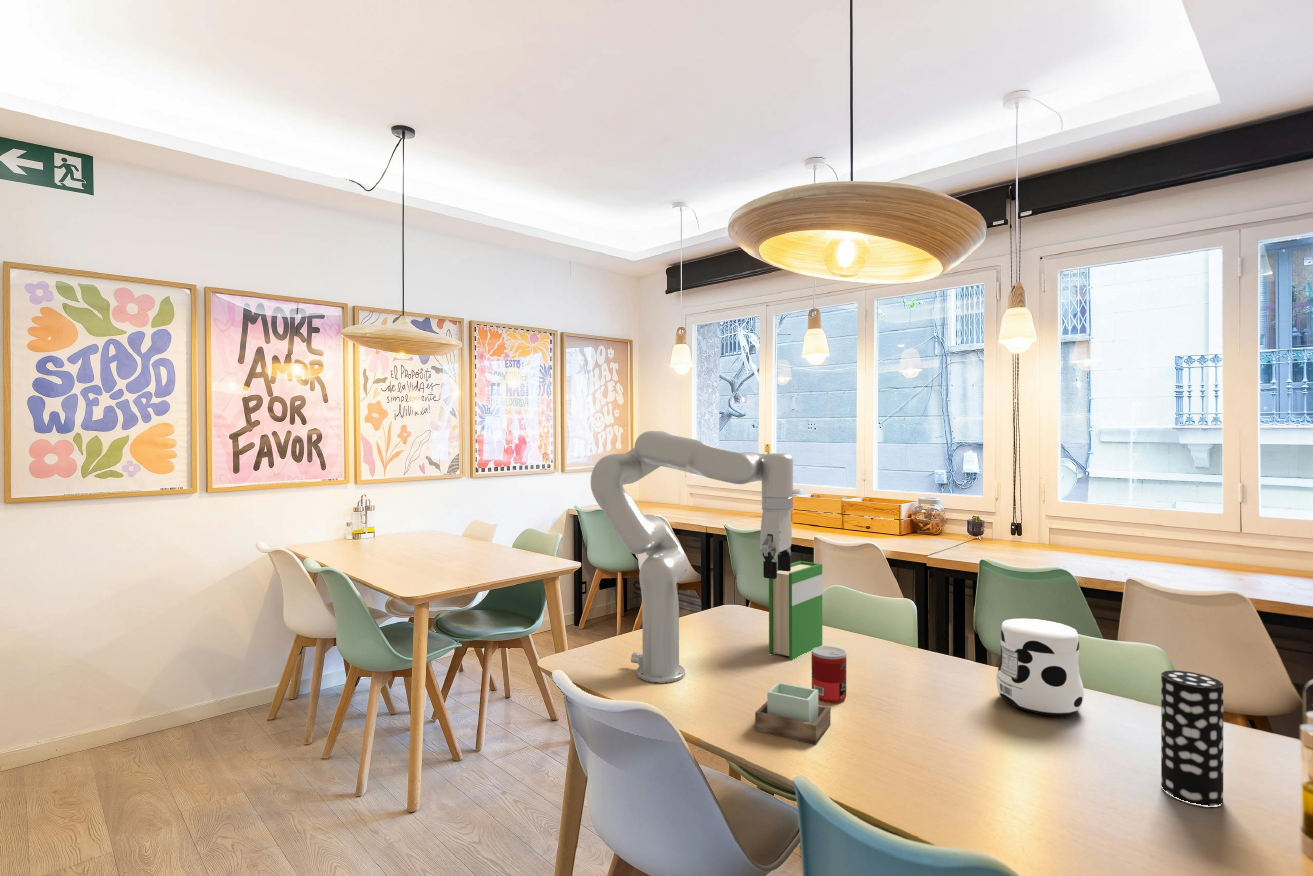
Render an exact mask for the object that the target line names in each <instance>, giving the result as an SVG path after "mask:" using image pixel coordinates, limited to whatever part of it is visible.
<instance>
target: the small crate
mask: <svg viewBox="0 0 1313 876" xmlns="http://www.w3.org/2000/svg"><path fill="white" fill-rule="evenodd" d="M766 693H767V694H766V695H767V696H766V697H767V701H766V702H767V714H772V715H776V716H781V717H785V718H790V719H794V720H799V721H804V722H808V723H814V722H815V721H816V720H817V718H818V705H819V701H818V690H816V689H812V687H811V688H810V687H804V686H800V685H794V684H789V683H784V682H780V681H778V682H777V683H776V684H774V686H772V687H771V688H769V690H767V692H766Z"/></svg>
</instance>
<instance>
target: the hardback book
mask: <svg viewBox="0 0 1313 876" xmlns="http://www.w3.org/2000/svg"><path fill="white" fill-rule="evenodd" d="M820 646H823V563H819V562H818V563H817V562H811V561H810V562H809V561H804V560H803V561H802V560H799V561H795V562H791V571H789V572H788V571H779V570H778V566H777V578H776V579H770V578H768V655H769V654H773V655H775V654H774V653H776V654H778V655H781V656H782V655H783V656H787V657H788V659H791V660H790V661H794V660H795V658H796V659H797V657H798V656H800V655H802V654H804V653H806V654H807V652H808V653H809V651H810V652H812V651H811V650H812V649H813V648H815V647H820ZM804 655H805V654H804ZM802 656H803V655H802ZM800 657H801V656H800ZM798 658H799V657H798ZM793 659H794V660H793Z"/></svg>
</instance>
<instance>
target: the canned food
mask: <svg viewBox="0 0 1313 876" xmlns="http://www.w3.org/2000/svg"><path fill="white" fill-rule="evenodd" d="M811 689H816V690H818V702H822V703H826V704H839V703H840V702H841V703H843V702H845V700H846V697H847V652H846V651H845V649H841V648H839V647H835V646H829V645H826V646H825V645H824V646H823V645H821V646H819V647H815V648H813V649H812V651H811Z"/></svg>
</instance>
